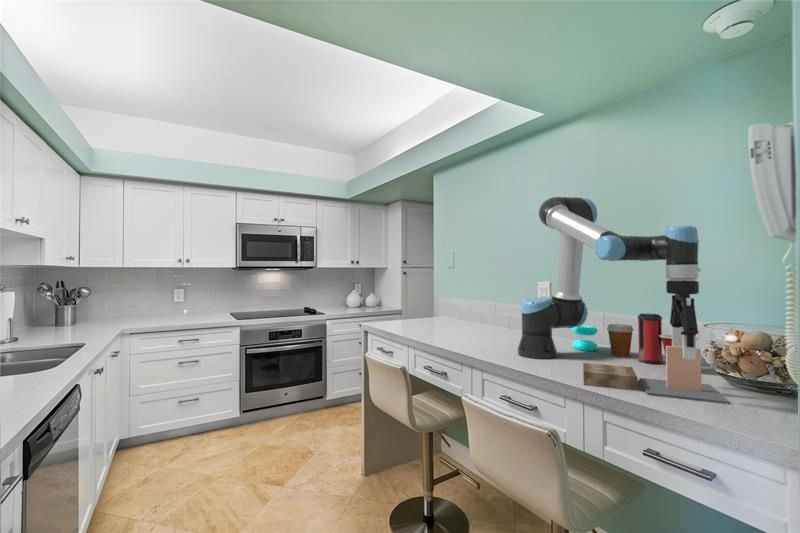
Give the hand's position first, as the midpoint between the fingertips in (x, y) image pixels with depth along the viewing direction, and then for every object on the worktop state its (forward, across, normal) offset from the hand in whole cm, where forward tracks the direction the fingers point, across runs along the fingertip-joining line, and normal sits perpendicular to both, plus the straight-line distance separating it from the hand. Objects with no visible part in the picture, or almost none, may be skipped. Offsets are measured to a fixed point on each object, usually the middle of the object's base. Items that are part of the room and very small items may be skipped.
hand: (683, 353), depth 109 cm
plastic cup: (+11, +27, -4) cm, 29 cm away
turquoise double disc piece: (+11, +52, +25) cm, 59 cm away
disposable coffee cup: (+11, +45, +12) cm, 48 cm away
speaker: (+11, +36, +3) cm, 38 cm away
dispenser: (+11, +1, +19) cm, 22 cm away
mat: (+11, 0, +1) cm, 11 cm away
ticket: (+10, 0, 0) cm, 10 cm away
